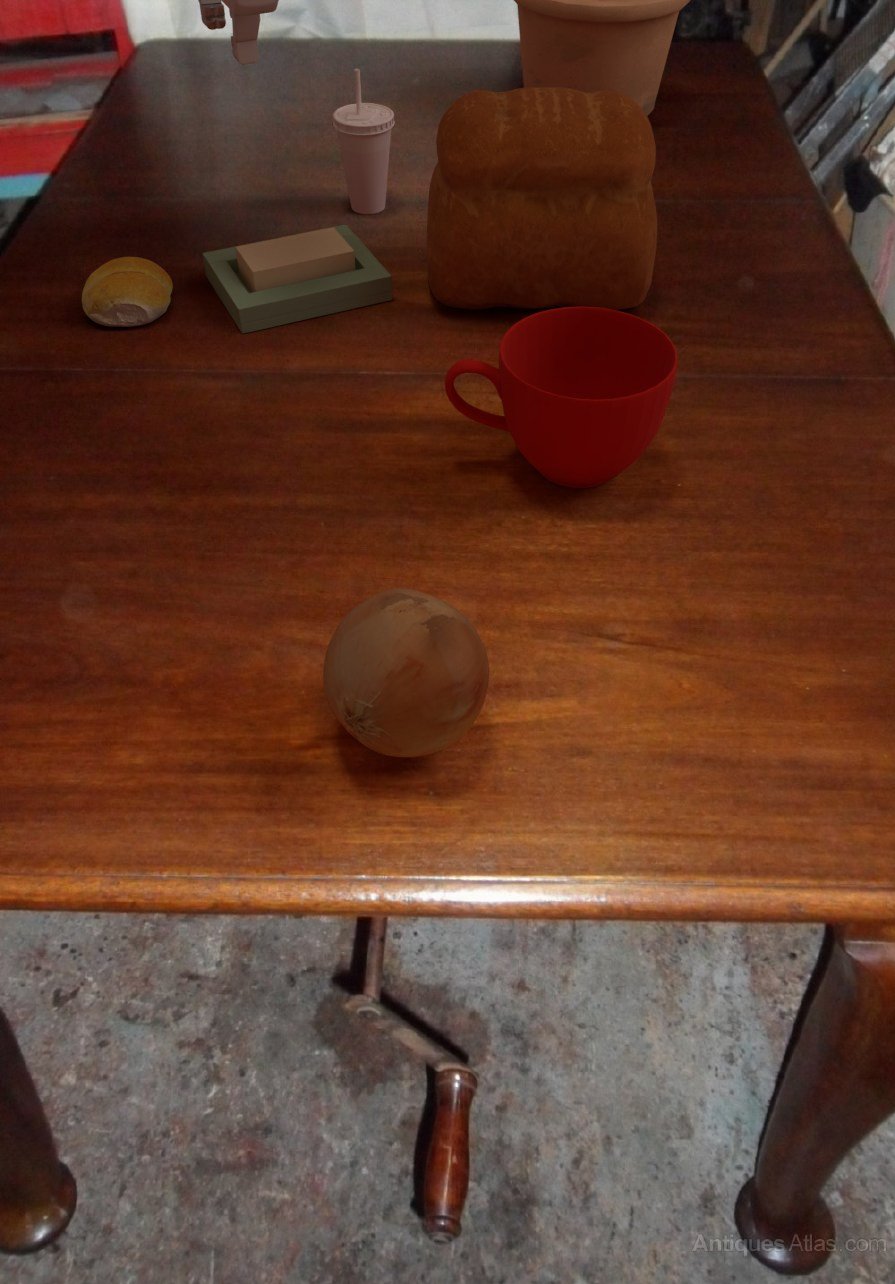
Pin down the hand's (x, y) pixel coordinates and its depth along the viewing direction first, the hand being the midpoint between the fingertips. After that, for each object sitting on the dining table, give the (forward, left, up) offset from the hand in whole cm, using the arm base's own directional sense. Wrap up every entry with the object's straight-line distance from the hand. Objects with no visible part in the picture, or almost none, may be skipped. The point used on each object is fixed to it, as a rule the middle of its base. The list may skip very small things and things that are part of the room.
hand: (229, 43), depth 91 cm
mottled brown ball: (-10, -59, -21) cm, 64 cm away
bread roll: (-13, -1, -21) cm, 25 cm away
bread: (+24, -12, -21) cm, 35 cm away
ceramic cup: (+11, -39, -21) cm, 46 cm away
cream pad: (+3, -4, -20) cm, 20 cm away
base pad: (+2, -4, -21) cm, 21 cm away
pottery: (+52, +26, -21) cm, 62 cm away
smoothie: (+15, +10, -21) cm, 28 cm away
